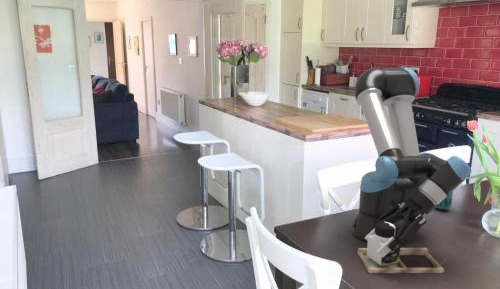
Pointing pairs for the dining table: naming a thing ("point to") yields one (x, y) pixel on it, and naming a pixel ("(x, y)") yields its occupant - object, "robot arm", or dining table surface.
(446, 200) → the beverage bottle
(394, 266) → the wooden divided tray
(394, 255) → the medicine bottle
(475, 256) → the dining table surface
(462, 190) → the dining table surface
